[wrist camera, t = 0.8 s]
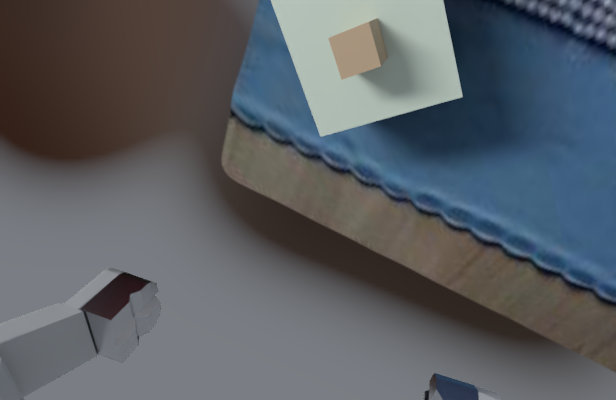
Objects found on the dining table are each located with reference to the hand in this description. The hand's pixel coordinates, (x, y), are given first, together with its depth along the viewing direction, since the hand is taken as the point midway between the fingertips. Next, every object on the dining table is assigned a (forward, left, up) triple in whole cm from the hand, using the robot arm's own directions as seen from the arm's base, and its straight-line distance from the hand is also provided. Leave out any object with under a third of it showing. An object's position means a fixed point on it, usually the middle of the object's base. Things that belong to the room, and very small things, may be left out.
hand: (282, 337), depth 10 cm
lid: (+1, -5, -26) cm, 26 cm away
